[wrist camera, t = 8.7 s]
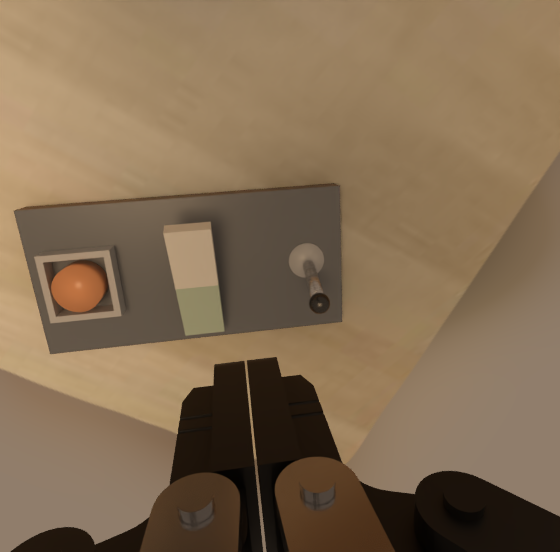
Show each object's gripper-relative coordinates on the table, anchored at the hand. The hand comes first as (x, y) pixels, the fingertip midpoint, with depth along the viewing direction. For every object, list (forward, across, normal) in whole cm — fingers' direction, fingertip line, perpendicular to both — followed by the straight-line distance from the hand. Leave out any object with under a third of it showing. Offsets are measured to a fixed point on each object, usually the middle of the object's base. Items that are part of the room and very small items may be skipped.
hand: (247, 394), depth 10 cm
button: (+25, +12, +4) cm, 28 cm away
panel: (+27, +4, +4) cm, 28 cm away
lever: (+24, -6, +4) cm, 26 cm away
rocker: (+23, +3, +4) cm, 23 cm away
